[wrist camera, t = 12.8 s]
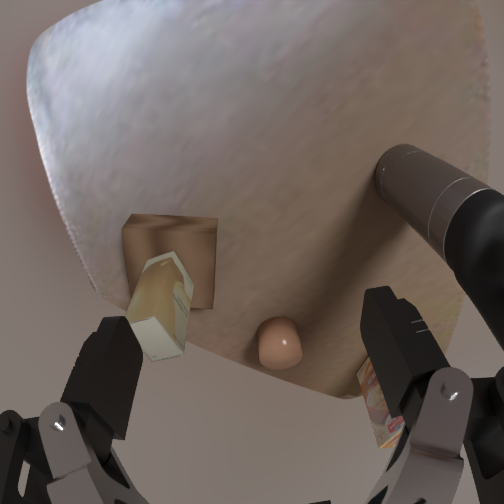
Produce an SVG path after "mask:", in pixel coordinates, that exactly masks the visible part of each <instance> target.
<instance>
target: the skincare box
mask: <svg viewBox="0 0 504 504" xmlns="http://www.w3.org/2000/svg"><path fill="white" fill-rule="evenodd" d="M193 289H194V285H193V283H192V281H191V279H190V277H189V276H188V274H187V272H186V270H185V268H184V267H183V265H182V263H181V262H180V260H179V258H178V257H177V255H176V254H175V252H174V251H171V252H169V253H165V254H163V255H160V256H157V257H154V258H152V259H149V260H147V262H146V264H145V266H144V269H143V271H142V274H141V276H140V278H139V281H138V283H137V286H136V288H135V291H134V293H133V296H132V299H131V301H130V304H129V306H128V309H127V312H126V314H125V317H126V318H127V320H128V322H129V324H130V326H131V328H132V330H133V332H134V334H135V336H136V337H137V339H138V341H139V343H140V345H141V348H142V351H143V352H144V353H145V354H146V356H147V357H148V358H149V359H150V360H151V361H152V362H154V361H159V360H164V359H168V358H173V357H177V356H181V355H184V348H185V341H186V334H187V327H188V320H189V314H190V307H191V301H192V295H193Z"/></svg>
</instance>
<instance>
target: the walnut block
mask: <svg viewBox="0 0 504 504" xmlns="http://www.w3.org/2000/svg"><path fill="white" fill-rule="evenodd" d="M217 223H218V218H204V217H187V216H169V215H149V214H132V215H131V216H130V217H129V219H128V220H127V222H126V223H125V224H124V226H123V227H122V238H123V246H124V254H125V261H126V268H127V275H128V281H129V288H130V293H131V299H132V296H133V293H134V291H135V288H136V286H137V283H138V281H139V278H140V276H141V274H142V271H143V269H144V266H145V264H146V262H147V260H149V259H152V258H154V257H157V256H160V255H163V254H165V253H169V252H171V251H174V252H175V254H176V255H177V257H178V258H179V260H180V262H181V263H182V265H183V267H184V268H185V270H186V272H187V274H188V276H189V277H190V279H191V281H192V283H193V285H194V289H193V295H192V301H191V307H190V308H203V309H213V301H214V290H215V265H216V243H217Z"/></svg>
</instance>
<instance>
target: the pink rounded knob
mask: <svg viewBox="0 0 504 504" xmlns="http://www.w3.org/2000/svg"><path fill="white" fill-rule="evenodd" d="M257 333H258V347H259V360H260V363H261V364H262V365H263V366H264V367H266V368H268V369H272V370H284V369H288V368H291V367H293V366H295V365H296V364H298V363H299V362H300V360H301V359H302V356H303V353H302V348H301V343H300V338H299V333H298V328H297V325H296V323H295V322H294V321H293V320H291V319H289V318H286V317H274V318H270V319H268V320H266V321H264V322H263V323H262V324H261V325H260V326H259V328H258V332H257Z"/></svg>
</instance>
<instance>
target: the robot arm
mask: <svg viewBox="0 0 504 504" xmlns="http://www.w3.org/2000/svg"><path fill="white" fill-rule="evenodd" d="M375 183H376V187H377V191H378V192H379V194H380V196H381V197H382V198H383V199H384V200H385V201H386V202H387V203H388V204H389V205H390V206H391V207H392V208H393V209H394V210H395V211H396V212H397V213H398V214H399V215H400V216H401V217H402V218H403V219H404V220H405V221H406V222H407V223H408V224H409V225H410V226H411V227H412V228H413V229H414V230H415V231H416V232H417V233H418V234H419V235H420V236H421V237H422V238H423V239H424V240H425V241H426V242H427V243H428V244H429V245H430V246H431V247H432V248H433V249H434V250H435V251H436V252H437V253H438V255H439V256H440V257H441V258H442V259H443V260H444V261H445V262H446V263H447V264H448V266H449V267H450V268H451V269H452V270H453V272H454V274H455V277H456V279H457V281H458V283H459V284H460V286H461V287H462V288H463V290H464V291H465V292H466V294H467V295H468V296H469V298H470V299H471V301H472V302H473V304H474V305H475V306H476V308H477V309H478V311H479V313H480V314H481V316H482V317H483V319H484V320H485V322H486V324H487V325H488V327H489V328H490V330H491V332H492V333H493V335H494V336H495V338H496V340H497V341H498V343H499V344H500V346H501V347H502V349H503V350H504V195H502V194H501V193H499V192H497V191H496V190H494V189H492V188H491V187H489V186H488V185H486V184H484V183H483V182H481V181H479V180H477V179H476V178H474V177H472V176H471V175H469V174H467V173H465V172H463V171H462V170H460V169H458V168H456V167H454V166H452V165H451V164H449V163H447V162H445V161H443V160H441V159H439V158H437V157H435V156H433V155H431V154H429V153H427V152H425V151H423V150H421V149H419V148H417V147H415V146H412V145H408V144H402V145H397V146H395V147H393V148H391V149H390V150H388V151H387V152H386V153H385V154H384V155H383V156H382V158H381V159H380V161H379V163H378V166H377V169H376V174H375ZM360 330H361V336H362V340H363V343H364V345H365V348H366V350H367V353H368V355H369V358H370V361H371V363H372V366H373V368H374V371H375V374H376V376H377V379H378V382H379V385H380V387H381V390H382V393H383V396H384V399H385V401H386V404H387V407H388V410H389V413H390V416H391V419H392V418H396V417H399V416H403V419H404V422H405V424H404V426H403V428H402V431H401V433H400V436H399V438H398V441H397V443H396V445H395V448H394V450H393V452H392V454H391V457H390V459H389V461H388V463H387V465H386V468H385V470H384V471H383V474H382V475H381V477H380V479H379V480H378V482H377V483H376V485H375V487H374V488H373V490H372V491H371V493H370V495H369V497H368V498H367V500H366V502H365V504H451V503H452V501H453V498H454V495H455V493H456V489H457V487H458V484H459V481H460V478H461V475H462V471H463V467H464V459H463V458H461V457H460V450H461V447H462V443H463V444H464V447H465V450H466V453H467V457H468V460H469V463H470V467H471V470H472V474H473V478H474V481H475V485H476V489H477V493H478V497H479V501H480V504H504V367H502V368H501V369H500V370H499V371H498V373H497V374H496V376H495V377H489V378H469V376H468V375H467V374H466V373H465V372H463V371H462V370H460V369H457V368H453V367H451V366H450V365H449V363H448V361H447V359H446V358H445V356H444V354H443V352H442V351H441V349H440V347H439V345H438V343H437V342H436V340H435V338H434V337H433V335H432V333H431V331H430V330H428V326H427V325H426V323H425V322H424V321H423V318H422V317H421V315H420V313H419V312H418V310H417V309H416V307H415V306H413V305H412V304H411V303H410V302H408V301H407V300H406V299H404V298H402V299H397V298H396V296H395V295H394V293H393V291H392V290H391V288H390V287H389V286H382V287H376V288H370V289H366V291H365V294H364V301H363V308H362V315H361V322H360ZM142 362H143V352H142V348H141V345H140V343H139V341H138V339H137V337H136V336H135V334H134V332H133V330H132V328H131V326H130V324H129V322H128V320H127V318H126V317H124V316H116V317H104V318H103V319H102V321H101V323H100V326H99V327H98V330H97V332H93V333H92V334H91V335H90V336H89V338H88V339H87V340H86V341H85V342H84V344H83V346H82V348H81V351H80V353H79V357H77V360H76V362H75V366H74V367H73V370H72V372H71V375H70V377H69V379H68V382H67V384H66V387H65V389H64V392H63V395H62V397H61V400H60V402H55V403H52V404H50V405H49V406H47V407H46V408H45V409H44V410H43V411H42V413H41V415H40V417H34V418H28V419H23V418H22V417H21V416H20V415H19V414H18V413H17V412H15V411H13V410H7V411H4V412H3V413H2V414H0V504H149V503H148V502H147V500H146V499H145V498H144V497H143V496H141V494H140V493H139V492H138V491H137V490H136V488H135V487H134V485H133V483H132V481H131V480H130V478H129V476H128V475H127V473H126V471H125V469H124V467H123V466H122V464H121V462H120V460H119V458H118V457H117V455H116V453H115V451H114V449H113V448H112V447H111V444H112V439H118V440H125V436H126V431H127V426H128V421H129V417H130V412H131V408H132V403H133V399H134V395H135V391H136V386H137V382H138V378H139V374H140V370H141V367H142ZM23 460H24V461H25V462H27V463H28V464H30V470H29V474H28V479H27V484H26V489H25V494H24V496H23V497H21V495H20V494H19V491H18V482H19V477H20V473H21V468H22V464H23ZM310 504H331V502H330V500H328V501H323V502H316V503H310Z"/></svg>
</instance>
